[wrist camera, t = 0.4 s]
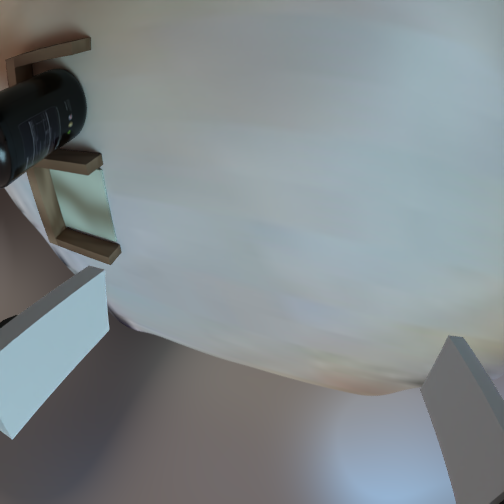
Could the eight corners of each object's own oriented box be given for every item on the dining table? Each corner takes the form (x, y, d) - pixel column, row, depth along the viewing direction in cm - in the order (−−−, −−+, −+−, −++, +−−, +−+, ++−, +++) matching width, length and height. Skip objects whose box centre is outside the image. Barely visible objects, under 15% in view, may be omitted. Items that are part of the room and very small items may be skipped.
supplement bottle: (39, 127, 23) (-59, 195, 14) (42, 61, 18) (-76, 118, 10) (87, 149, 23) (-19, 233, 15) (95, 76, 19) (-41, 144, 10)
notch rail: (22, 53, 18) (5, 60, 16) (90, 37, 16) (71, 41, 15) (60, 231, 32) (49, 242, 31) (121, 252, 30) (110, 265, 29)
